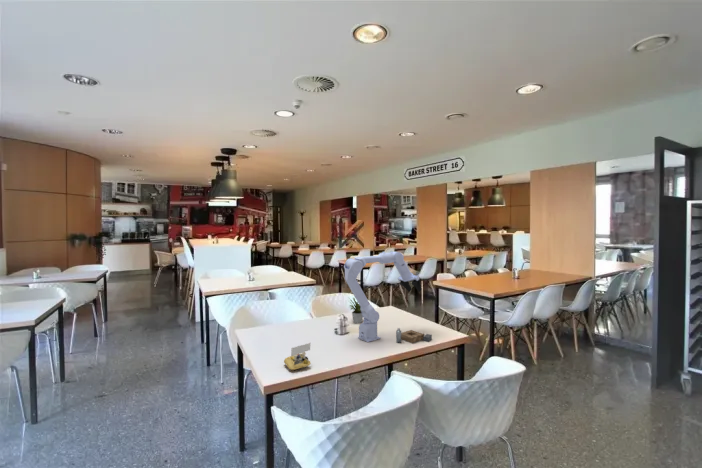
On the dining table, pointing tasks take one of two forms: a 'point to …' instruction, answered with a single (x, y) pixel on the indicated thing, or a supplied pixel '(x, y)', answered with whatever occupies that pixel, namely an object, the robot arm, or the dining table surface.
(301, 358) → the yellow card holder
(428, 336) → the square bar
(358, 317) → the house plant
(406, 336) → the socket block
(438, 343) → the dining table surface
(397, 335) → the round bit
